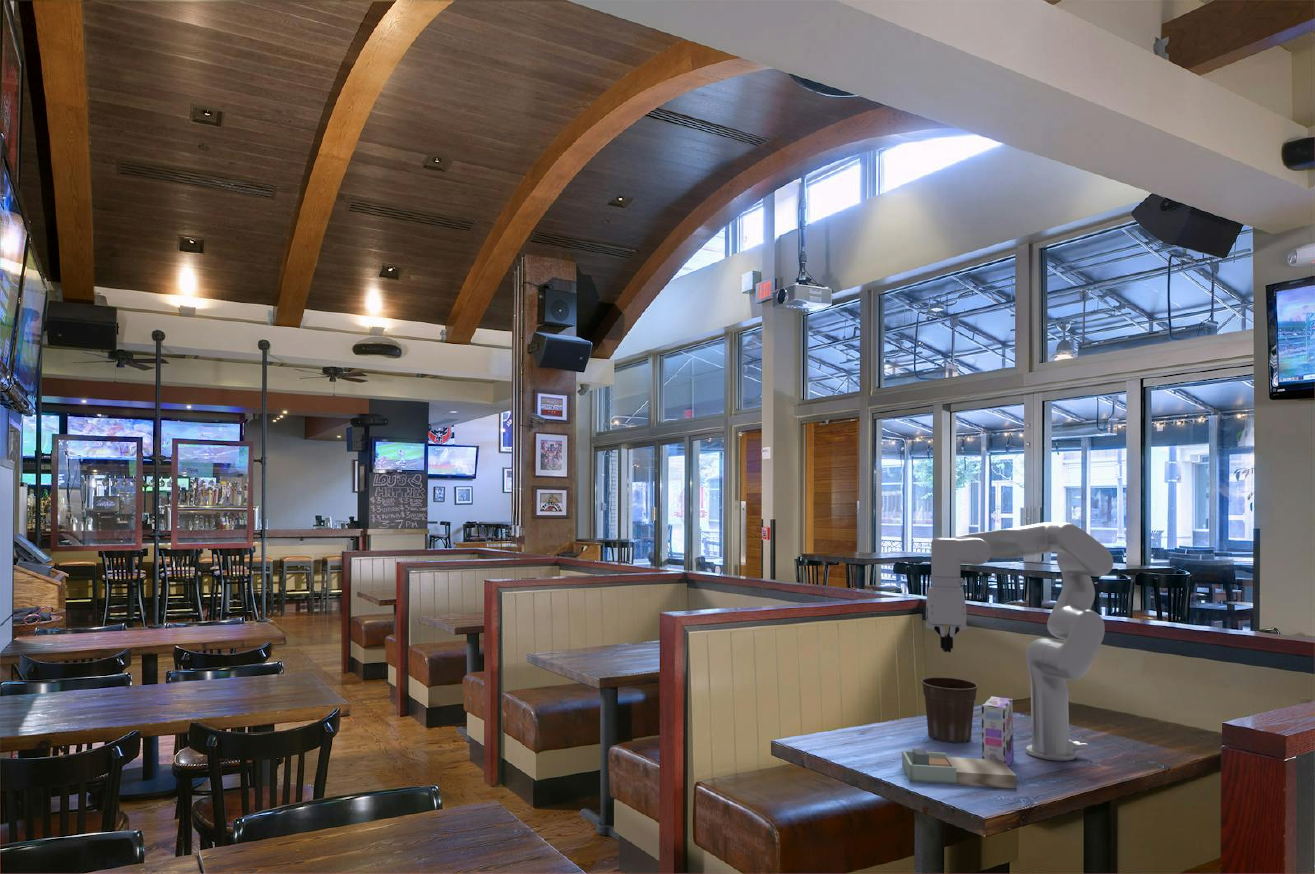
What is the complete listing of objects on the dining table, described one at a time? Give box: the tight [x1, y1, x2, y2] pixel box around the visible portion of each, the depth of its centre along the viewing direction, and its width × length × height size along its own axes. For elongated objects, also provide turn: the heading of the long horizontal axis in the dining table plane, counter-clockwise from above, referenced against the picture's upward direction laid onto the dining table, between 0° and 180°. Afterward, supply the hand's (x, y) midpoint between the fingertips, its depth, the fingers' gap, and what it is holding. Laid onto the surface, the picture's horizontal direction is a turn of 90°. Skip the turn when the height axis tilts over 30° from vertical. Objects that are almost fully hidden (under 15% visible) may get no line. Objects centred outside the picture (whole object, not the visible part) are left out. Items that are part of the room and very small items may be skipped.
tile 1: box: [912, 748, 929, 766], centre depth 214 cm, size 5×5×3 cm
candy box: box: [981, 695, 1015, 768], centre depth 225 cm, size 14×6×16 cm, turn 148°
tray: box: [901, 750, 958, 786], centre depth 214 cm, size 11×13×4 cm
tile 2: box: [929, 758, 950, 767], centre depth 213 cm, size 5×5×3 cm
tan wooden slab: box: [946, 756, 1017, 789], centre depth 212 cm, size 14×13×3 cm
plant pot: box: [920, 676, 979, 744], centre depth 251 cm, size 16×16×16 cm
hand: (946, 651), depth 228 cm, fingers closed
